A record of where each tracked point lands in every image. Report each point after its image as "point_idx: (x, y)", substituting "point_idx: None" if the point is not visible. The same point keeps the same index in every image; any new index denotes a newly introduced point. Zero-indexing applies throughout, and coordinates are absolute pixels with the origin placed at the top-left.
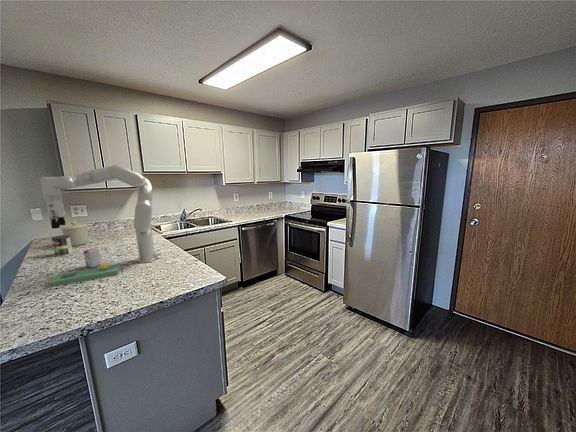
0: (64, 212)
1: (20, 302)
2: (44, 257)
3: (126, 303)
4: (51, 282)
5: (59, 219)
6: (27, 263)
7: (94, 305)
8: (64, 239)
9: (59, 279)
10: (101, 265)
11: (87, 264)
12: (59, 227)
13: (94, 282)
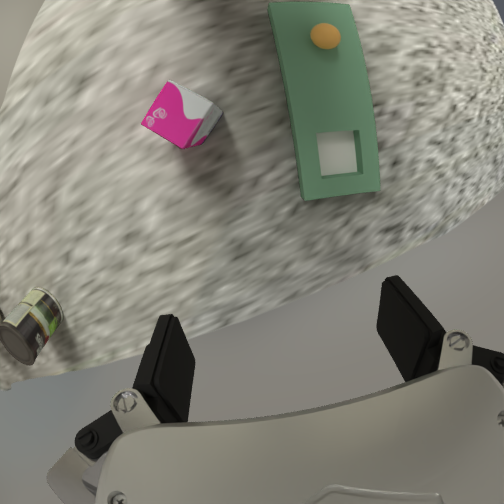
0: (162, 490)
1: (437, 215)
2: (70, 343)
3: (490, 24)
4: (379, 187)
5: (180, 410)
6: (113, 359)
7: (491, 67)
8: (20, 329)
9: (367, 170)
10: (338, 39)
11: (205, 136)
12: (392, 276)
13: (391, 66)
